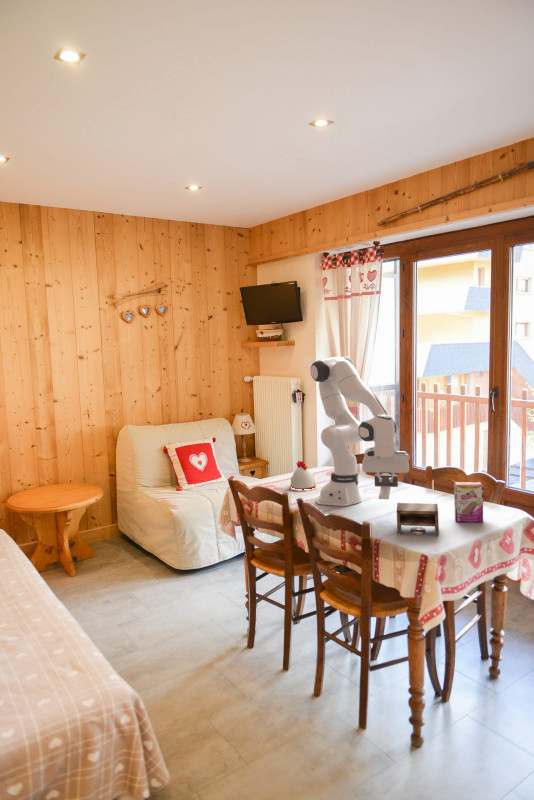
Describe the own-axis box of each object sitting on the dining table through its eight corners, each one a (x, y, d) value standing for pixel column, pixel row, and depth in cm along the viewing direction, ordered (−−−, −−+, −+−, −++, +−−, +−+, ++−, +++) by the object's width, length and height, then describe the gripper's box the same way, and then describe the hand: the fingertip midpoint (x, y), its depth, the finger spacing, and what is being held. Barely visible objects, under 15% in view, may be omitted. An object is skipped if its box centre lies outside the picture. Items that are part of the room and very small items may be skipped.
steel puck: (410, 535, 220) (410, 531, 219) (410, 530, 225) (410, 526, 225) (425, 535, 218) (425, 532, 218) (425, 530, 224) (425, 527, 224)
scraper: (371, 498, 225) (371, 484, 224) (374, 485, 243) (374, 472, 243) (396, 499, 222) (395, 485, 221) (397, 486, 241) (397, 473, 240)
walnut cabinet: (397, 534, 220) (396, 510, 219) (398, 526, 230) (397, 502, 229) (438, 536, 216) (438, 511, 215) (437, 527, 225) (437, 503, 224)
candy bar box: (455, 522, 230) (454, 484, 229) (454, 518, 235) (453, 481, 233) (483, 523, 228) (483, 484, 226) (482, 519, 232) (481, 481, 231)
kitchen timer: (304, 483, 309) (303, 457, 307) (320, 487, 298) (319, 460, 296) (285, 488, 301) (284, 461, 300) (301, 492, 290) (299, 465, 288)
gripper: (409, 449, 238) (410, 480, 239) (362, 449, 243) (363, 479, 245) (409, 452, 232) (410, 484, 233) (361, 452, 237) (362, 483, 239)
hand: (385, 482), depth 239 cm, fingers closed on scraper, 3 cm apart
